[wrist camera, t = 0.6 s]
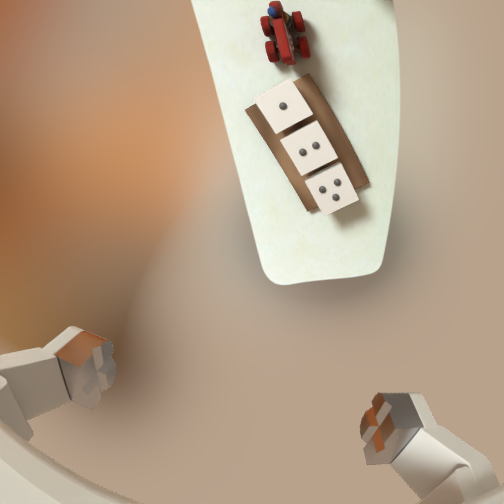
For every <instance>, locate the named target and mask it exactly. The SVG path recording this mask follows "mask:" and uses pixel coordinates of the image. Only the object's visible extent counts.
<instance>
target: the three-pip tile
mask: <svg viewBox="0 0 504 504" xmlns="http://www.w3.org/2000/svg"><path fill="white" fill-rule="evenodd" d="M305 183H306V185H307V187H308V188H309V190H310V192H311V194H312V196H313V197H314V199H315V201H316V203H317V205H318V206H319V208H320V210H321V212H322V214H323V216H325V215H327V214H330V213H332V212H334V211H336V210H338V209H340V208H343V207H345V206H347V205H349V204H351V203H353V202H356V201H358V200H359V198H358V196H357V194H356V192H355V190H354V188H353V186H352V184H351V182H350V180H349V178H348V176H347V174H346V172H345V170H344V168H343V166H342V164H341V163H340V161H339V162H337V163H335V164H333V165H331V166H329V167H327V168H325V169H323V170H321V171H319V172H317V173H315V174H313V175H311V176H309V177H307V178H306V180H305Z"/></svg>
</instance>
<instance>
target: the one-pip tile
mask: <svg viewBox="0 0 504 504" xmlns="http://www.w3.org/2000/svg"><path fill="white" fill-rule="evenodd" d="M253 100H254V101H255V103H256V104H257V106H258V107H259V109H260V110H261V112H262V113H263V115H264V116H265V118H266V119H267V121H268V122H269V124H270V126H271V127H272V129H273V130H274V132H275V133H276V134H277V133H279V132H281V131H283V130H284V129H286V128H288V127H290V126H292V125H293V124H295V123H297V122H299V121H301V120H303V119H305V118H307V117H309V116H311V115H312V114H313V113H312V111H311V109H310V108H309V106H308V105H307V103H306V101H305V100H304V98H303V97H302V95H301V94H300V92H299V91H298V89H297V87H296V86H295V84H294V83H293V81H292V80H291V78H289V79H287V80H285V81H283V82H282V83H280V84H278V85H276V86H274V87H273V88H271V89H269V90H268V91H266V92H264V93H262V94H261V95H259V96H257V97H256V98H254V99H253Z"/></svg>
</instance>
